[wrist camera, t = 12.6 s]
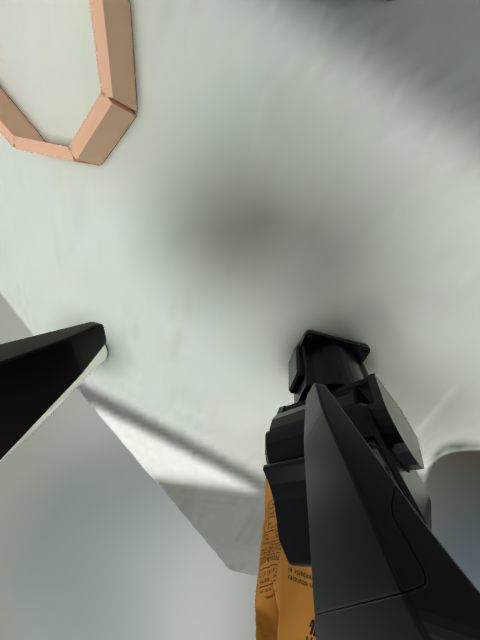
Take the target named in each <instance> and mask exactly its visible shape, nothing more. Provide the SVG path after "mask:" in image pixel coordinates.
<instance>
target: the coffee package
mask: <svg viewBox="0 0 480 640" xmlns="http://www.w3.org/2000/svg"><path fill="white" fill-rule="evenodd" d="M255 611H256V640H316V635H315V618H314V616H315V613H314V600H313V583H312V567H301V566H292V565H290V564H289V562H288V560H287V558H286V555H285V553H284V551H283V548H282V546H281V544H280V541H279V536H278V528H277V520H276V512H275V506H274V500H273V496H272V493H271V489H270V485H269V483H268V480H267V478H266V491H265V520H264V523H263V527H262V541H261V548H260V559H259V573H258V580H257V587H256V597H255Z"/></svg>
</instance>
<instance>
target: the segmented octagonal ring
mask: <svg viewBox="0 0 480 640" xmlns="http://www.w3.org/2000/svg"><path fill="white" fill-rule="evenodd" d="M89 1H90V9H91V17H92V25H93V33H94V41H95V48H96V56H97V64H98V72H99V80H100V88H101V93H100V95H99V96H98V98H97V100H96V101H95V103H94V105H93V107H92V108H91V110H90V112H89V113H88V115H87V117H86V118H85V120H84V122H83V124H82V125H81V127H80V129H79V130H78V132H77V134H76V136H75V137H74V139H73V141H72V142H71V144H70V146H69V147H66V146H61V145H56V144H51V143H46V142H45V141H44V139H43V138H42V137H41V136H40V134H39V133H38V132H37V131H36V130H35V128H34V127H33V126H32V125H31V124H30V122H29V121H28V120H27V119H26V118H25V116H24V115H23V114H22V113H21V111H20V110H19V109H18V108H17V107H16V105H15V104H14V103H13V102H12V101H11V99H10V98H9V97H8V96H7V95H6V93H5V92H4V91H3V90H2V89H1V87H0V133H1V134H2V135H3V136H4V137H5V139H6V140H7V141H8V142H9V143H10V144H11V145H12V147H16V149H18V150H23V151H28V152H33V153H38V154H42V155H47V156H52V157H57V158H62V159H66V160H71V161H76V162H82V163H88V164H94V165H99V164H103V162H104V161H105V159H106V158H107V156H108V155H109V154H110V152H111V151H112V149H113V148H114V147H115V145H116V144H117V142H118V141H119V140H120V138H121V137H122V135H123V134H124V133H125V131H126V130H127V128H128V127H129V125H130V124H131V123H132V121H133V120H134V118H135V117H136V115H135V114H134V112H133V111H137V102H136V87H135V71H134V56H133V40H132V25H131V10H130V3H129V1H128V0H89Z"/></svg>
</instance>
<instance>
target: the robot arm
mask: <svg viewBox="0 0 480 640" xmlns="http://www.w3.org/2000/svg"><path fill="white" fill-rule="evenodd" d="M308 335H312V336H310V337H308ZM105 343H106V336H105V331H104V327H103V325H102V324H99V323H96V322H89V323H85V324H81V325H77V326H73V327H69V328H65V329H61V330H57V331H53V332H49V333H44V334H40V335H36V336H32V337H28V338H24V339H20V340H17V341H12V342H8V343H4V344H0V460H1V459H2V458H3V457H4V456H5V455H6V454H7V453H8V451H9V450H10V449H11V448H12V447H13V446H14V445H15V444H16V443H17V442H18V441H19V440H20V439H21V438H22V437H23V436H24V435H25V434H26V432H27V431H28V430H29V429H30V428H31V427H32V426H33V425H34V424H35V423H36V422H37V421H38V420H39V419H40V418H41V417H42V416H43V414H44V413H45V412H46V411H47V410H48V409H49V408H50V407H51V406H52V405H53V404H54V403H55V402H56V401H57V400H58V399H59V398H60V397H61V395H62V394H63V393H64V392H65V391H66V390H67V389H68V388H69V387H70V386H71V385H72V384H73V383H74V382H75V381H76V380H77V379H78V377H79V376H80V375H81V374H82V373H83V372H84V370H85V369H86V368H87V367H88V365H89V364H90V363H91V362H92V360H93V359H94V358H95V357H96V355H97V354H98V353H99V351H100V350H101V349H102V348H103V346H104V345H105ZM363 349H366V350H364V351H362V350H363ZM369 353H370V348H369V347H368V346H367V345H365V344H361V343H357V342H353V341H349V340H345V339H341V338H337V337H333V336H330V335H326V334H322V333H318V332H314V331H306V332H305V334H304V336H303V338H302V341H301V343H300V346H297V347H296V348H295V350H294V352H293V355H292V357H291V360H290V362H289V391H290V393H294V404H292V405H289V406H283V407H280V408H279V410H278V413H277V415H276V416H275V417H274V418H273V420H272V423H271V427H270V431H268V432H266V436H265V455H266V461H267V465H264V467H263V470H264V473H265V475H266V478H267V480H268V483H269V485H270V489H271V493H272V496H273V500H274V506H275V512H276V520H277V528H278V536H279V541H280V544H281V546H282V548H283V551H284V553H285V555H286V558H287V560H288V562H289V564H290V565H292V566H301V567H312V583H313V600H314V613H315V616H314V618H315V635H316V640H480V592H479V591H478V590H477V589H476V587H475V586H474V585H473V584H472V582H471V581H470V580H469V579H468V578H467V576H466V575H465V574H464V572H463V571H462V570H461V569H460V567H459V566H458V565H457V564H456V563H455V561H454V560H453V559H452V558H451V556H450V555H449V554H448V552H447V551H446V550H445V549H444V547H443V546H442V545H441V544H440V542H439V541H438V540H437V538H436V537H435V536H434V535H433V533H432V518H431V517H432V516H431V500H430V497H429V495H428V493H427V491H426V489H425V487H424V485H423V483H422V481H421V479H420V477H419V476H418V474H417V472H416V470H418V469H424V465H423V460H422V456H421V451H420V447H419V442H418V439H417V437H416V435H415V433H414V431H413V430H412V428H411V426H410V424H409V423H408V421H407V419H406V417H405V416H404V414H403V412H402V410H401V409H400V407H399V406H398V405H397V403H396V402H395V401H394V399H393V398H392V397H391V395H390V394H389V392H388V391H387V390H386V388H385V387H384V386H383V384H382V383H381V382H380V380H379V379H378V377H377V376H376V375H375V373H373V374H370V375H368V373H367V370H366V368H365V366H364V364H363V362H364V360H365V359H366V357H367V356H368V354H369Z"/></svg>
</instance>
